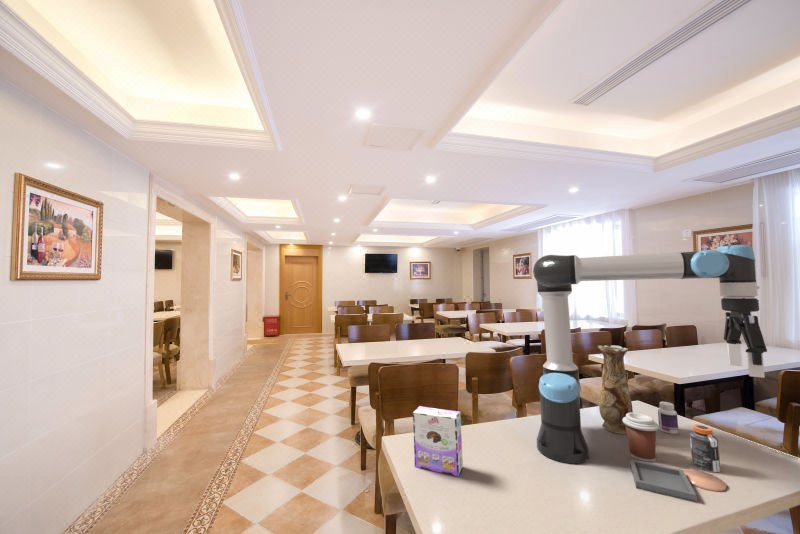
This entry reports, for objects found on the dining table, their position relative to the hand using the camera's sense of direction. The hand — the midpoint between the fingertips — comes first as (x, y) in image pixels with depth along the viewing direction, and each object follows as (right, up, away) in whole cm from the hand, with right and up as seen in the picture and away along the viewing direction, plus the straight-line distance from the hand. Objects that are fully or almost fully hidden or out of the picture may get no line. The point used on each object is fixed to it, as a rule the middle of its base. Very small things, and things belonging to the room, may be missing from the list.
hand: (745, 370), depth 91 cm
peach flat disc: (-18, -28, -6) cm, 34 cm away
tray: (-30, -28, -6) cm, 42 cm away
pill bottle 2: (-11, -28, 0) cm, 31 cm away
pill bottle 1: (-3, -30, +23) cm, 38 cm away
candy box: (-89, -31, +4) cm, 94 cm away
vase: (-19, -30, +26) cm, 44 cm away
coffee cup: (-25, -29, +7) cm, 39 cm away
